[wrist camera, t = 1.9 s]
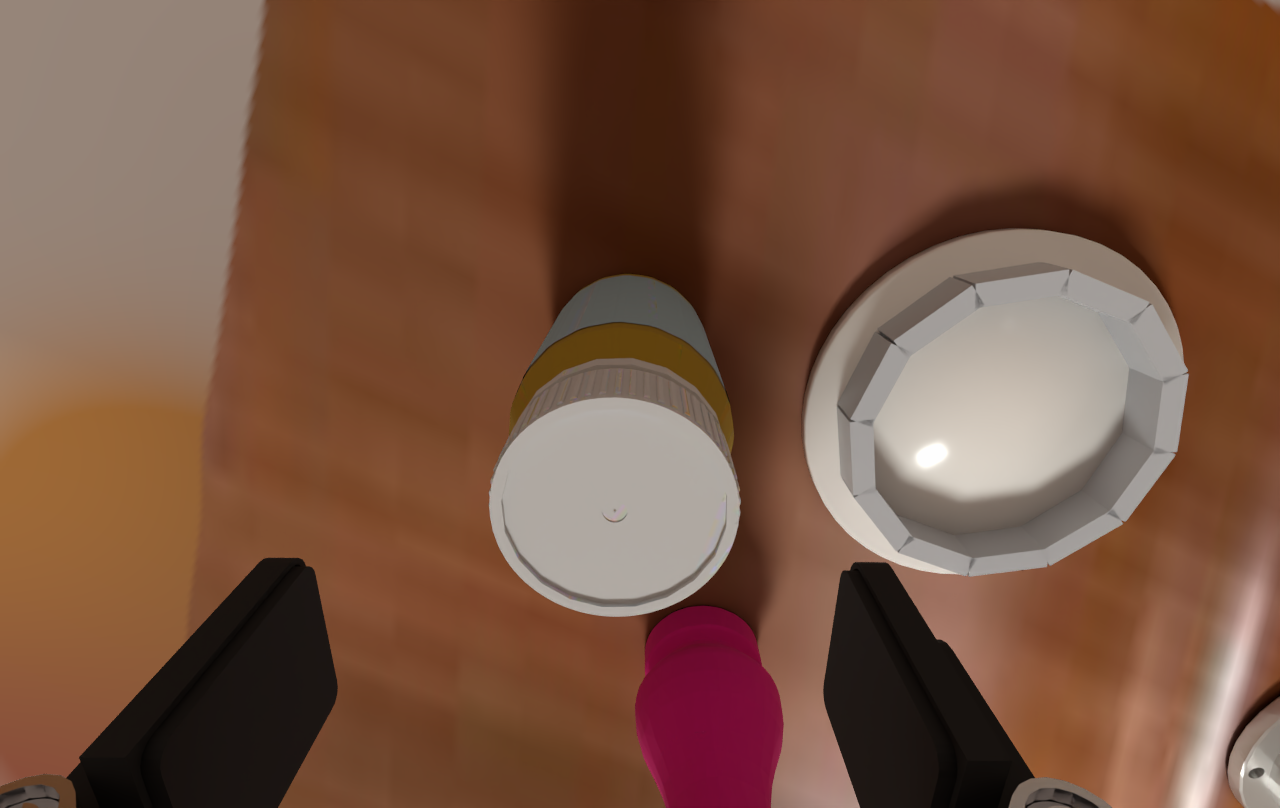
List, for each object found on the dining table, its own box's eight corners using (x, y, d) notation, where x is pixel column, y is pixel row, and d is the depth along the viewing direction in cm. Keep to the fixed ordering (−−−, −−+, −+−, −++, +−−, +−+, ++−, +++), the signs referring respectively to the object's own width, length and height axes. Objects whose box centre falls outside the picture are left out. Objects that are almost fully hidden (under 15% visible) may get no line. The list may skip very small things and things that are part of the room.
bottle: (601, 441, 31) (565, 668, 17) (525, 317, 29) (412, 461, 15) (730, 376, 30) (805, 564, 16) (660, 242, 28) (675, 322, 14)
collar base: (1224, 436, 31) (1282, 463, 28) (916, 616, 35) (940, 656, 32) (1064, 140, 26) (1115, 138, 23) (730, 387, 30) (739, 410, 27)
